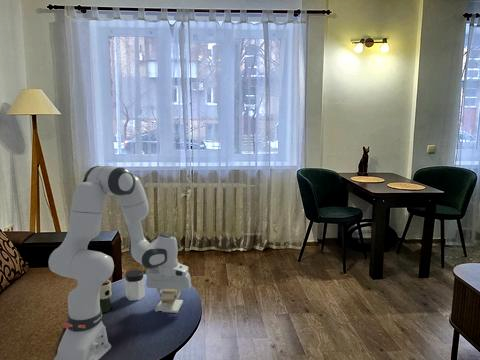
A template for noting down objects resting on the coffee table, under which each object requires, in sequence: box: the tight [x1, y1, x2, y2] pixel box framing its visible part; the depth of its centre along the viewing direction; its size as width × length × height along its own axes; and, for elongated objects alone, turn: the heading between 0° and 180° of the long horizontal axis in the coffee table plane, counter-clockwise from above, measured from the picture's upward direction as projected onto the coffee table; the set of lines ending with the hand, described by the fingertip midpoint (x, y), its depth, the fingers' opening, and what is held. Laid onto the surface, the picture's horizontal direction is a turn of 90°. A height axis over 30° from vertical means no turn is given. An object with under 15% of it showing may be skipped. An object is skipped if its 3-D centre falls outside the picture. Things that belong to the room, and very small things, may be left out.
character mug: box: [100, 279, 113, 313], centre depth 182 cm, size 11×7×13 cm, turn 170°
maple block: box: [160, 289, 177, 304], centre depth 186 cm, size 6×6×4 cm
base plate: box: [154, 299, 184, 314], centre depth 187 cm, size 10×10×1 cm
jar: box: [124, 269, 146, 301], centre depth 195 cm, size 9×8×12 cm
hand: (169, 297), depth 186 cm, fingers closed on maple block, 5 cm apart
